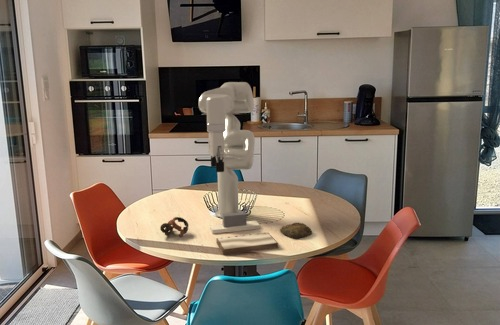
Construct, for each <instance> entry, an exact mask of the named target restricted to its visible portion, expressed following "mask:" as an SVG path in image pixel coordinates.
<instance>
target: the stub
mask: <svg viewBox="0 0 500 325" xmlns="http://www.w3.org/2000/svg"><path fill="white" fill-rule="evenodd" d="M247 217H248V216H247V213H246V212H245V211H243V212H240V213H230V214H222V218H221V219H222V223H220V224H210V225H209V227H208V228H209V230H210V232H211V234H212V235H213V234H221V233H231V232H240V231H250V230H257V229H258V230H259V229H261V225H260V223H259V222H258V221H257V220H249V221H248V219H247Z"/></svg>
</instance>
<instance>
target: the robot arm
mask: <svg viewBox="0 0 500 325" xmlns="http://www.w3.org/2000/svg"><path fill="white" fill-rule="evenodd" d="M198 109H199V111H200V112H201V113H205V114H206V131H207V132H208V143H207V144H208V146H207V149H208V154H209V155H210V166H211V168H215V172H216V174H217V200H218V201H217V206H218V208H217V210H216V211H214V214H215V216H216V217H218V218H220V219H222V214H230V213H240V212H242V210H241V209H239V178H238V176H237V174H236V172H235V170H237V171H238V170H239V171H241V170H242V171H243V170H244V171H245V170H250V169H251V168H252V167H253V166H254V156H255V154H254V153H255V140H256V139H255V135H254V132H253V131H251V130H247V129H241V122H240V120H239V119H238V118H237V116H235V115H234V114H247V113H248V114H249V113H250V114H251V112H253V111H254V109H255V101H254V94H253V91H252V88H251V85H250V84H249V83H248V82H246V81H239V82H238V81H228V82H224V83H223V84H222V85H221V86H220V87H217V88H213V89H209V90H207V91H204V92H203V93H201V95H200V97H199V98H198Z"/></svg>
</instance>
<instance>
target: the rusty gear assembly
mask: <svg viewBox="0 0 500 325" xmlns="http://www.w3.org/2000/svg"><path fill="white" fill-rule="evenodd" d="M176 221H177V222H179V223H183V224H184V226H183V228H182V226H181V225H178V223H176ZM159 228H160V231H161V232H162V234H164V235H165V236H168V235H169V232H172V231H174V230H177V231H178V232H179V235H178V237H179V238H183V237H184V236H185V235H186V234H187V233H188V230H189V223H188V221H187V220H186V219H185V218H183V217H179V216H175V217H173V218H172V219H170V220H169V221H168V222H164V223H162V224H161V225H160V227H159Z"/></svg>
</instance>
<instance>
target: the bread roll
mask: <svg viewBox="0 0 500 325" xmlns="http://www.w3.org/2000/svg"><path fill="white" fill-rule="evenodd" d="M279 230H280V233H281V234H282V235H284V236H286V237H287V238H291V239H292V240H293V239H294V240H299V239H300V240H301V239H304V238H307V237H309V236H311V235H312V233H313V230H312V229H311V227H310V226H308V225H306V224H305V223H304V222H293V223H289V224H286V225H282V227H280V229H279Z"/></svg>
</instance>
